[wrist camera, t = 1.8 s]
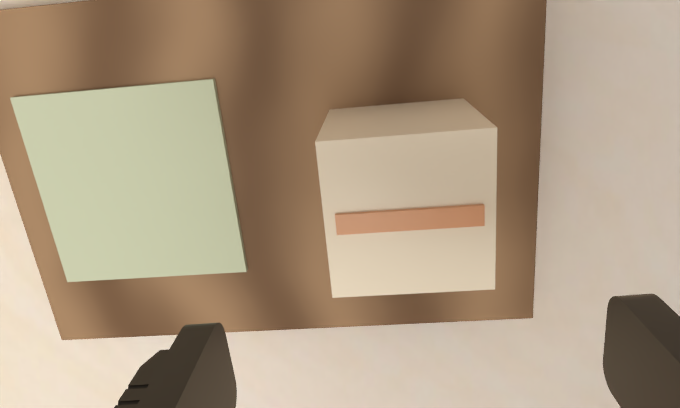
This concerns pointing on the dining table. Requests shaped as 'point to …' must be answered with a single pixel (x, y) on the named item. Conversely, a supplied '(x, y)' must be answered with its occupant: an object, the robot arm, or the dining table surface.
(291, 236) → the post board
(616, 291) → the dining table surface
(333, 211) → the cream drawer box
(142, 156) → the mat
